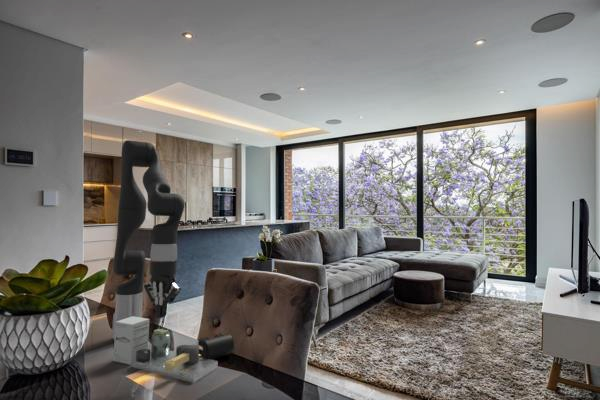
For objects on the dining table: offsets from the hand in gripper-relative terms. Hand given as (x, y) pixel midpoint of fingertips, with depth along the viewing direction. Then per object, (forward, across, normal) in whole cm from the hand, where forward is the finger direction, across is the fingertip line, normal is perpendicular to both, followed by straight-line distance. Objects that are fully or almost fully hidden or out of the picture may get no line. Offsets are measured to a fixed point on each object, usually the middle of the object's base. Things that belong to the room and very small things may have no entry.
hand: (161, 317), depth 100 cm
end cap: (+17, +8, +17) cm, 25 cm away
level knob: (+14, +6, +3) cm, 16 cm away
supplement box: (+17, -16, +4) cm, 23 cm away
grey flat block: (+16, +1, +6) cm, 17 cm away
